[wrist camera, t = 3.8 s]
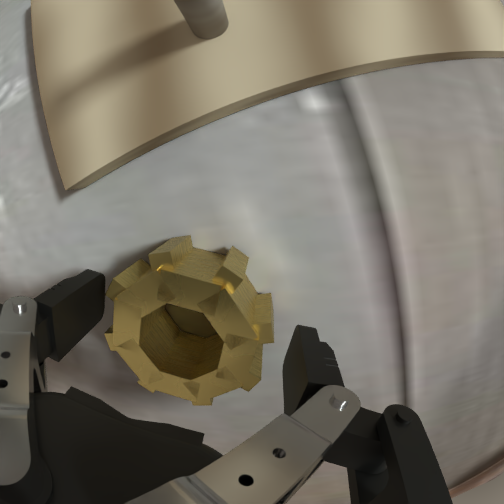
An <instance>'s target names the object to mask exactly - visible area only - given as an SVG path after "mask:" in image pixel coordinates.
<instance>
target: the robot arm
mask: <svg viewBox="0 0 504 504" xmlns="http://www.w3.org/2000/svg"><path fill="white" fill-rule="evenodd" d="M104 308H105V276H104V274H102V273H99V272H96V271H92V270H89V269H87V270H85V271H83V272H82V273H80V274H79V275H77V276H75V277H72V278H68V279H65V280H63V281H61V282H60V283H58V284H57V285H55V286H53V287H52V288H51V289H48V290H47V291H45V292H44V293H42V294H40V295H39V296H37V297H36V298H34V299H32V298H29V297H25V296H17V297H12V298H10V299H8V300H7V301H5V303H4V304H0V504H286V503H287V502H288V501H289V500H290V498H291V497H292V496H293V495H294V494H295V493H296V492H297V491H298V490H299V489H300V488H301V487H302V486H303V485H304V484H305V483H306V481H307V480H308V479H309V478H310V477H311V476H312V475H313V474H314V473H315V472H316V470H317V469H318V468H319V467H320V466H321V465H322V464H323V462H324V461H327V462H330V463H333V464H336V465H340V466H343V467H347V472H348V481H349V489H350V498H351V504H453V503H452V500H451V497H450V494H449V491H448V488H447V486H446V483H445V480H444V477H443V475H442V472H441V469H440V467H439V464H438V461H437V459H436V456H435V454H434V451H433V449H432V446H431V444H430V441H429V439H428V436H427V434H426V432H425V429H424V427H423V425H422V422H421V420H420V418H419V416H418V415H417V414H416V413H415V412H414V411H413V410H412V409H410V408H408V407H406V406H403V405H398V404H394V405H390V406H388V407H387V408H386V409H385V410H384V412H383V413H382V414H381V413H377V412H374V411H371V410H367V409H365V408H362V407H360V406H361V403H360V400H359V398H358V397H357V395H356V394H355V393H354V392H352V391H351V390H349V389H347V388H345V386H344V383H343V380H342V377H341V373H340V370H339V367H338V364H337V361H336V358H335V354H334V351H333V350H332V349H331V347H330V346H329V345H328V344H327V343H326V342H321V341H319V337H318V333H317V330H316V328H312V327H307V326H302V325H297V326H296V328H295V330H294V333H293V336H292V339H291V342H290V345H289V348H288V350H287V353H286V356H285V359H284V364H283V392H284V413H283V414H281V415H280V416H278V417H277V418H276V419H274V420H273V421H272V422H270V423H269V424H268V425H266V426H265V427H264V428H262V429H261V430H260V431H258V432H257V433H256V434H254V435H253V436H251V437H250V438H249V439H247V440H246V441H244V442H243V443H242V444H240V445H239V446H237V447H236V448H234V449H233V450H231V451H230V452H228V453H227V454H225V455H224V456H223V455H222V454H220V453H219V452H218V451H216V450H214V449H213V448H211V447H209V446H207V445H205V444H203V443H202V442H203V437H204V433H200V432H196V431H192V430H189V429H185V428H181V427H178V426H174V425H171V424H166V423H157V422H149V421H142V420H135V419H131V418H128V417H126V416H125V415H123V414H121V413H120V412H118V411H117V410H115V409H114V408H112V407H111V406H109V405H108V404H106V403H105V402H103V401H102V400H100V399H98V398H96V397H94V396H91V395H89V394H87V393H85V392H83V391H80V390H78V389H76V388H74V387H72V386H71V387H70V389H69V390H68V391H67V392H66V394H62V393H56V392H48V390H47V375H46V363H45V359H46V358H47V357H50V358H51V359H53V360H55V361H57V362H59V361H60V360H61V359H62V358H63V357H64V356H65V355H66V354H67V353H68V352H69V351H70V350H71V349H72V348H73V347H74V346H75V345H76V344H77V343H78V342H79V341H80V340H81V339H82V338H83V337H84V336H85V335H86V334H87V333H88V332H89V331H90V330H91V329H92V328H93V327H94V326H95V325H96V324H97V323H98V322H99V321H100V320H101V319H102V316H103V314H104Z"/></svg>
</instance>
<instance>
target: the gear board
mask: <svg viewBox="0 0 504 504" xmlns="http://www.w3.org/2000/svg"><path fill="white" fill-rule="evenodd" d="M31 21H32V36H33V47H34V56H35V64H36V72H37V78H38V84H39V90H40V96H41V101H42V106H43V111H44V116H45V120H46V124H47V129H48V133H49V137H50V141H51V145H52V148H53V152H54V156H55V159H56V163H57V166H58V169H59V173H60V176H61V179H62V182H63V185H64V188H65V190H72V189H79V188H85V187H86V186H88V185H90V184H91V183H93V182H95V181H96V180H98V179H100V178H101V177H103V176H105V175H106V174H108V173H110V172H112V171H113V170H115V169H117V168H119V167H120V166H122V165H124V164H126V163H128V162H129V161H131V160H133V159H135V158H137V157H139V156H141V155H143V154H145V153H146V152H148V151H150V150H152V149H154V148H156V147H158V146H160V145H162V144H164V143H166V142H168V141H171V140H173V139H175V138H177V137H179V136H181V135H183V134H186V133H188V132H190V131H192V130H194V129H197V128H199V127H201V126H203V125H206V124H208V123H211V122H213V121H215V120H218V119H220V118H223V117H225V116H228V115H230V114H233V113H235V112H238V111H240V110H243V109H246V108H248V107H251V106H254V105H257V104H259V103H262V102H265V101H268V100H271V99H274V98H277V97H280V96H283V95H286V94H289V93H292V92H295V91H299V90H302V89H305V88H309V87H312V86H316V85H319V84H323V83H327V82H330V81H334V80H338V79H342V78H346V77H350V76H355V75H359V74H364V73H368V72H373V71H378V70H383V69H388V68H394V67H400V66H406V65H413V64H420V63H427V62H435V61H445V60H456V59H470V58H504V6H503V5H502V3H501V1H500V0H31Z"/></svg>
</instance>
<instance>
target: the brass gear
mask: <svg viewBox="0 0 504 504" xmlns="http://www.w3.org/2000/svg"><path fill="white" fill-rule="evenodd" d="M148 257H149V261H150V265H151V266H150V265H149V264H148V263H146V262H145V261H144V260H142V259H140V260H138V261H137V262H135V263H134V264H133V265H131V266H130V267H128V268H127V269H126V270H124V271H123V272H122V273H120V274H119V275H117V276H116V277H115V278H113V280H112V282H111V284H110V286H109V288H108V290H107V292H106V294H105V295H106V296H107V297H109V298H110V299H111V300H112V301H114V316H113V325H112V326H111V327H110V328H109V329H108V330H107V331H106V332H105V333H104V334H105V337H106V340H107V342H108V345H109V348H110V350H111V351H117V352H118V353H119V354H120V356H121V357H122V358H123V359H124V361H125V362H126V363H127V364H128V366H129V367H130V368H131V369H132V370H133V372H134V373H135V374H136V375H137V376H138V377H139V380H138V382H137V383H138V384H140V385H141V386H143V387H144V388H146V389H147V390H149V391H150V392H152V393H154V392H155V390H157V391H160V392H163V393H167V394H170V395H173V396H176V397H180V398H183V399H186V400H190V401H192V404H193V405H212V402H213V398H214V397H216V396H219V395H221V394H224V393H227V392H229V391H232V390H235V389H237V388H240V387H241V388H242V389H244V390H246V391H248V392H249V391H250V390H251V389H252V388H253V387H254V386H255V385H256V384H257V383H258V382H259V381H260V380H261V370H262V350H263V344H266V343H274V317H273V304H272V297H271V293H267V294H258V293H257V292H256V290H255V288H254V287H253V285H252V284H251V282H250V281H249V279H248V277H247V276H246V274H245V272H246V267H247V263H248V259H249V257H247V256H246V255H245V254H243V253H242V252H240V251H239V250H238V249H236V248H235V247H234V246H232V247H231V249H230V250H229V251H228V253H227V254H226V255H221V254H217V253H213V252H210V251H206V250H202V249H198V248H194V247H193V246H192V241H191V236H190V235H188V236H181V237H175V238H171V239H170V240H168V241H167V242H165V243H164V244H163V245H161V246H160V247H158V248H157V249H155V250H154V251H153V252H151V253H150V254H148ZM166 303H169V304H173V305H176V306H180V307H183V308H187V309H190V310H194V311H197V312H201V313H204V315H205V316H206V318H207V319H208V320H209V322H210V323H211V325H212V326H213V327H214V329H215V330H216V331H217V333H216V334H214V335H212V336H210V337H207V338H204V337H200V336H197V335H193V334H190V333H186V332H183V331H180V329H179V328H178V327H177V325H176V324H175V323H174V321H173V320H172V319H171V317H170V316H169V314H168V313H167V312H166V310H165V307H166Z"/></svg>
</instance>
